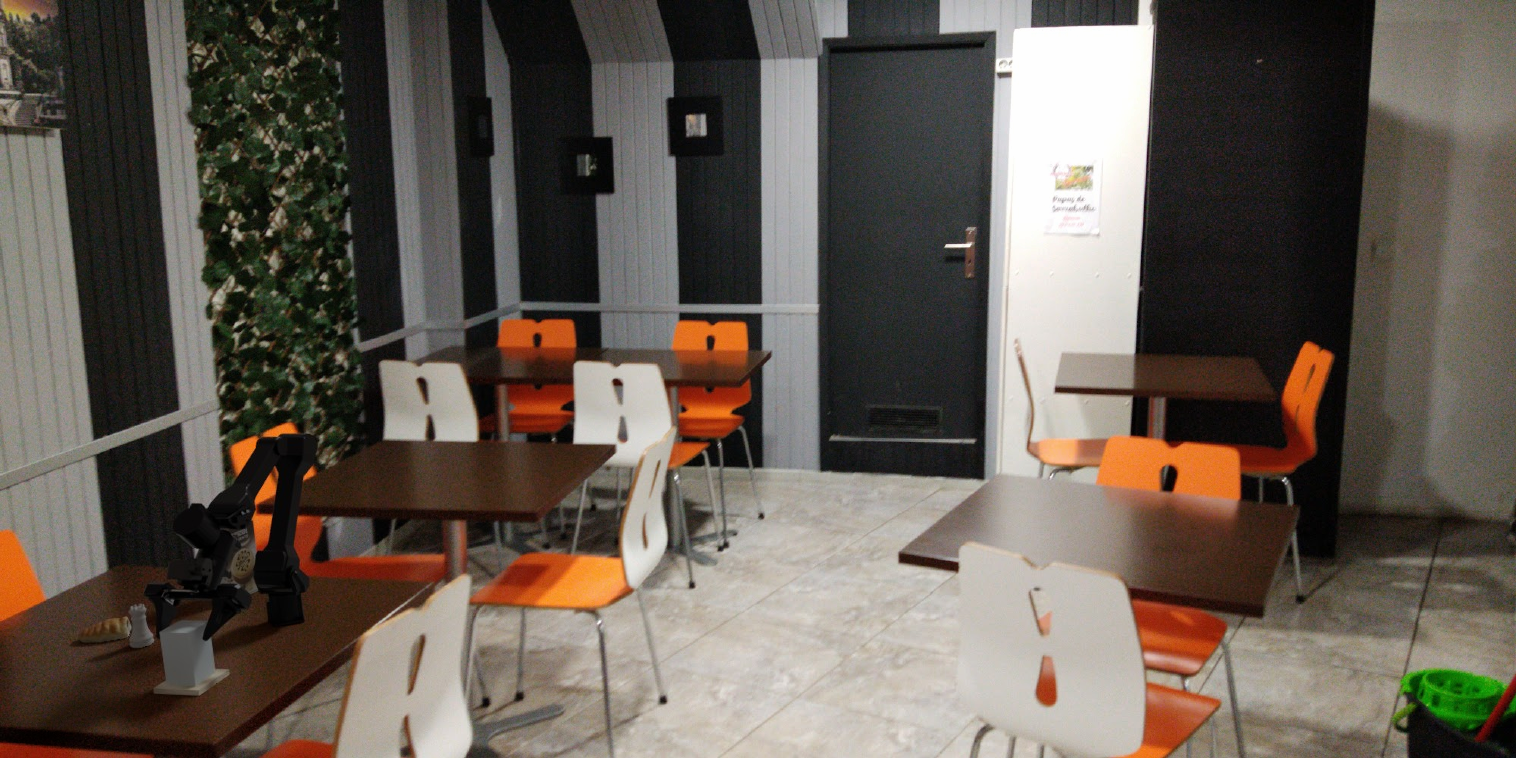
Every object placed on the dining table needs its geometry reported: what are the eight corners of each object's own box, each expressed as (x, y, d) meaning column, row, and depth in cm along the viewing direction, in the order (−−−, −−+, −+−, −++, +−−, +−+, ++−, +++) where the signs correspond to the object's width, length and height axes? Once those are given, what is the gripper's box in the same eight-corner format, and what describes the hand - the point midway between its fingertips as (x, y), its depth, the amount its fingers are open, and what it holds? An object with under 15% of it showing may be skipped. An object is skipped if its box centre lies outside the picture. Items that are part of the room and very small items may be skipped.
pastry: (77, 648, 240) (74, 630, 240) (81, 637, 246) (78, 619, 246) (130, 639, 244) (127, 621, 243) (132, 628, 250) (130, 610, 249)
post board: (186, 672, 225) (182, 649, 225) (229, 674, 224) (226, 651, 223) (154, 693, 217) (150, 669, 216) (199, 695, 215) (196, 671, 214)
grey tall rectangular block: (187, 671, 223) (180, 619, 222) (215, 672, 222) (208, 620, 220) (166, 684, 218) (159, 632, 216) (195, 686, 217) (188, 633, 215)
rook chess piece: (144, 649, 238) (139, 610, 236) (124, 648, 238) (119, 609, 237) (159, 640, 242) (154, 602, 240) (140, 639, 243) (134, 601, 241)
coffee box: (232, 603, 261) (223, 531, 258) (208, 601, 263) (199, 529, 261) (262, 589, 270) (254, 519, 267) (239, 587, 272) (231, 517, 269)
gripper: (142, 539, 221) (108, 619, 212) (235, 541, 218) (204, 623, 209) (175, 566, 230) (144, 644, 221) (265, 568, 227) (237, 648, 218)
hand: (181, 639), depth 217 cm, fingers open, 9 cm apart
